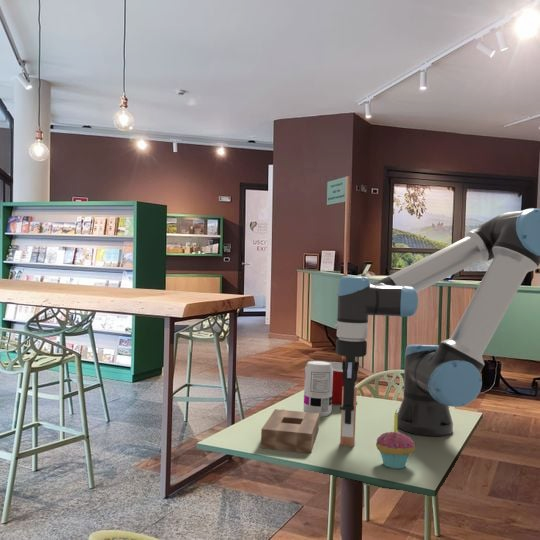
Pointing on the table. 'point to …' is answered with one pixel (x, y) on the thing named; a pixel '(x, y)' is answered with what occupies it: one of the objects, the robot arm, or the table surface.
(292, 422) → the hole block
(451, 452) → the table surface
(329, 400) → the supplement can
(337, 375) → the plastic cup
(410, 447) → the cupcake
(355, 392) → the dowel pin
